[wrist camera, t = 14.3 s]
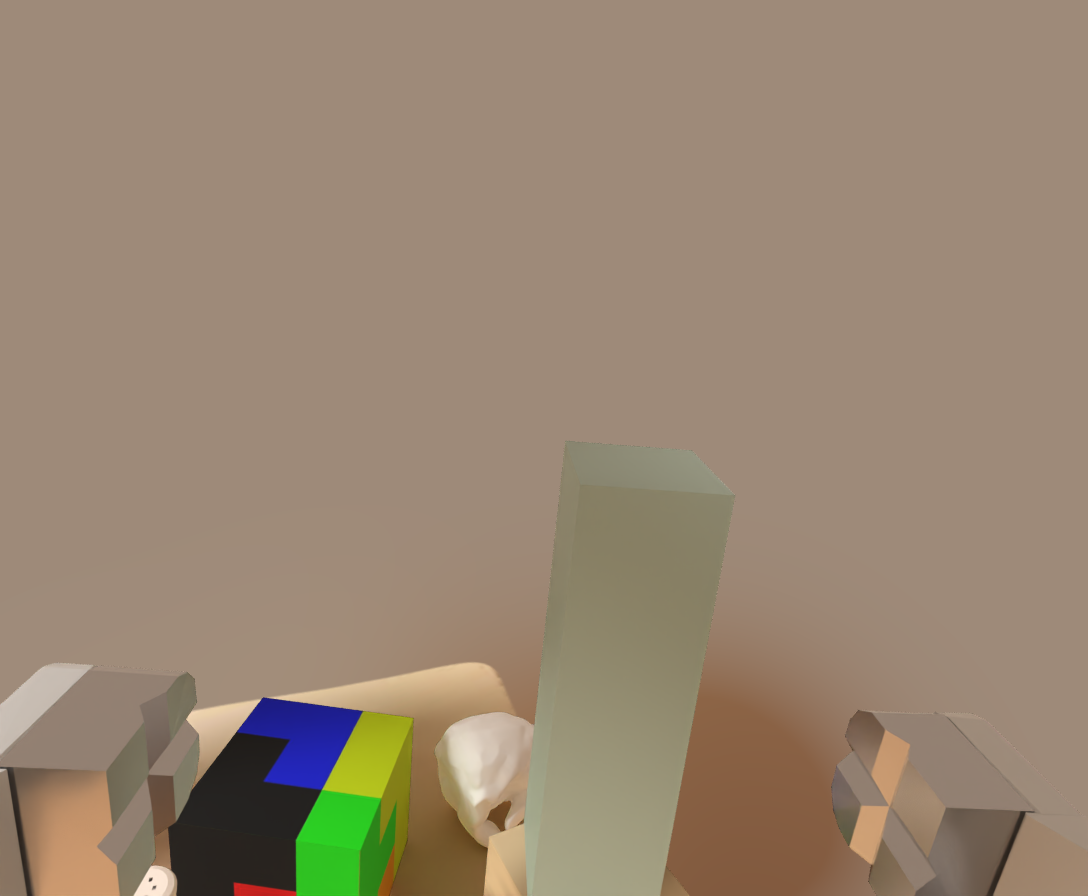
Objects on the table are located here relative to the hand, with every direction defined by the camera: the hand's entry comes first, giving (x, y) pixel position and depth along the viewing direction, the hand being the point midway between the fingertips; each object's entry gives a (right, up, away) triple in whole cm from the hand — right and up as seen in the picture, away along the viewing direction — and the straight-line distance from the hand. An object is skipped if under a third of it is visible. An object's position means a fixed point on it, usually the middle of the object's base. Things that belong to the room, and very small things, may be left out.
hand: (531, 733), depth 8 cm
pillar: (+2, -16, +23) cm, 28 cm away
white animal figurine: (-2, -23, +41) cm, 47 cm away
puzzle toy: (-15, -24, +33) cm, 43 cm away
